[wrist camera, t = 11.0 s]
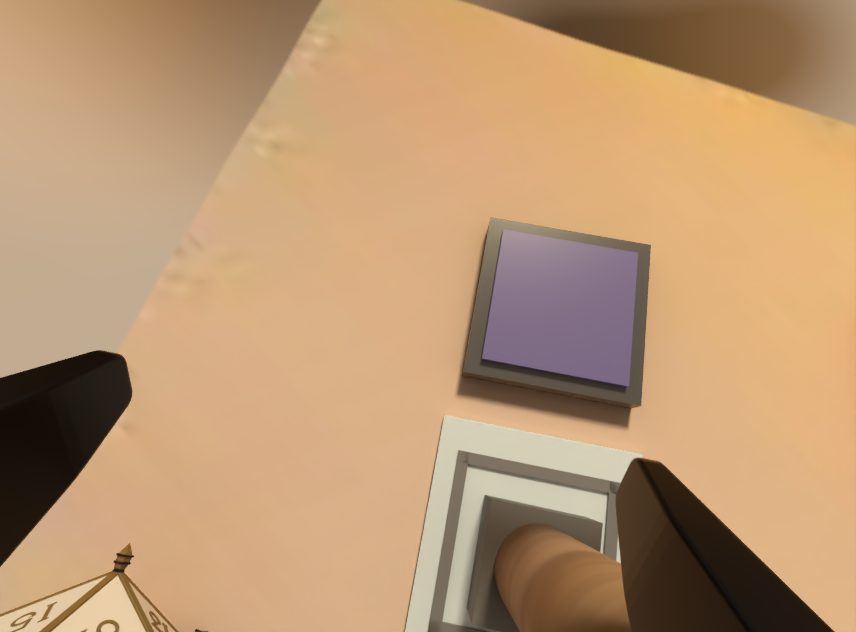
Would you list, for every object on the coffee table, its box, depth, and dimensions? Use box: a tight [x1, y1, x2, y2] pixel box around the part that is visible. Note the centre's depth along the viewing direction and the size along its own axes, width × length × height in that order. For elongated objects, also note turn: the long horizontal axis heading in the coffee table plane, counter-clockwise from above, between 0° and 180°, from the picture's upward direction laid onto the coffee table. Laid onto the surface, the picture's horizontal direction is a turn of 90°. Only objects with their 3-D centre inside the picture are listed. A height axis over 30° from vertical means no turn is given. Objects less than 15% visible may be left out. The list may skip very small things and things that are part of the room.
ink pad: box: [462, 218, 651, 408], centre depth 22 cm, size 8×8×1 cm
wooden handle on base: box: [467, 495, 631, 632], centre depth 13 cm, size 4×4×13 cm
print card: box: [405, 415, 643, 632], centre depth 20 cm, size 10×9×1 cm
